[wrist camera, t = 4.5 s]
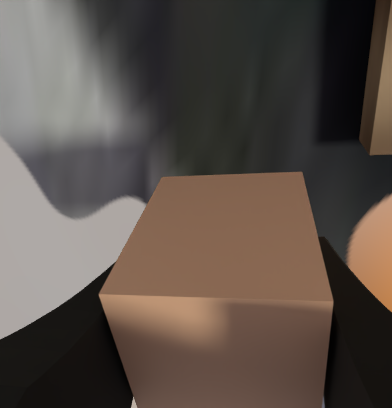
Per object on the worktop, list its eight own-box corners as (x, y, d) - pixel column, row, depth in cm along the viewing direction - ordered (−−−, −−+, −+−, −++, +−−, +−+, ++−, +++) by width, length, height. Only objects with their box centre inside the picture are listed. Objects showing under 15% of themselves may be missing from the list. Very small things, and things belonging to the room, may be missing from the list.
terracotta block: (297, 281, 14) (318, 436, 9) (180, 278, 15) (141, 418, 10) (302, 171, 12) (333, 301, 7) (162, 177, 13) (99, 294, 8)
